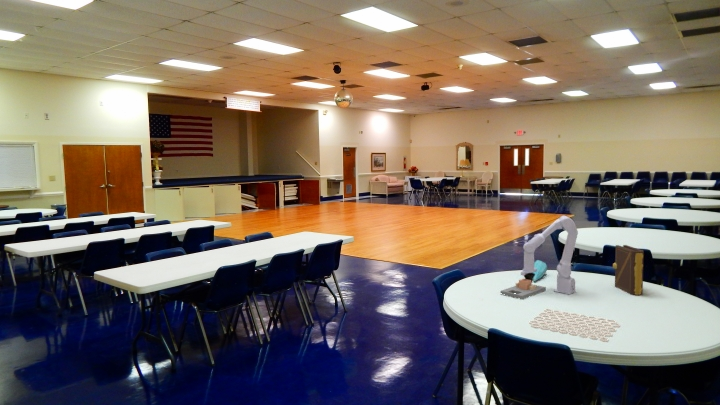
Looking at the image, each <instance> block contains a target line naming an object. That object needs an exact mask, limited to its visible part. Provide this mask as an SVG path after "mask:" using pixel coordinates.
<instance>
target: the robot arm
mask: <svg viewBox="0 0 720 405" xmlns="http://www.w3.org/2000/svg"><path fill="white" fill-rule="evenodd" d="M575 223H576V222H575V221H574V220H573V219H572V218H570V217H568V216H566V215H561V216H560V217H559V218H557V219H556V220H554V222H552V223H551V224H550V225H549V226H548V227H547V228H546V229H545V230H543V231H542V233H541V232H540V233H537V234H534V235H533V237H532V238H531V239H529V240H528V242H525V243H524V244H523V247H522V248H523V250H524V251H523V268H522V269H521V270H522V271H520V276H522V277H524V279H528V280H531V284H532V283H533V281H534V280H533V278H534V276H535V273H533V272H537V268H534V262H535V251H536V249H538V248H539V247H540V246H541V245H542V244H544V242H546V238H547V237H548V236H550V235H551V234H553V233H554V232H555V231H556V230H562V229H563V228H564V229H565V231H566V232H567V235H566V240H565V244H564V248H563V250H562V251H563V252H562V256H561V259H560V260H559V263H558V264H557V266H556V272H557V273H556V274H557V275H556V289H554V290H553V292H556V293H562V294H566V295H571V294H573V293H576V292H577V291H576V279H575V278H574V277H572V276H571V274H572V270H571V268H572V263H571V261H572V258H573V253H574V250H575V246H576V243H577V238H578V234H579V231H578V228H577V226H576V224H575Z"/></svg>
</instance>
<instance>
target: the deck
mask: <svg viewBox="0 0 720 405" xmlns="http://www.w3.org/2000/svg"><path fill="white" fill-rule="evenodd" d="M546 290H547V287H546V286H541V285H538V284H537V285H536V284H531V286H530V289H528V290H524V289H519V281H518V282H515V285H514V286H511V287H508V288H504V289H502V290H500V293H502V294H505V295H504V296H506V295H509V296H508V297H510V296H512V297H511V298H514V297H516V298H515V299H518V298H520V299H519V300H524V298H525V299H527V298H530V297H532V295H533V296H535V295H537V294H541V293H543V292H545V291H546ZM514 293H516V294H514ZM529 296H530V297H529ZM526 297H527V298H526Z"/></svg>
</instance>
